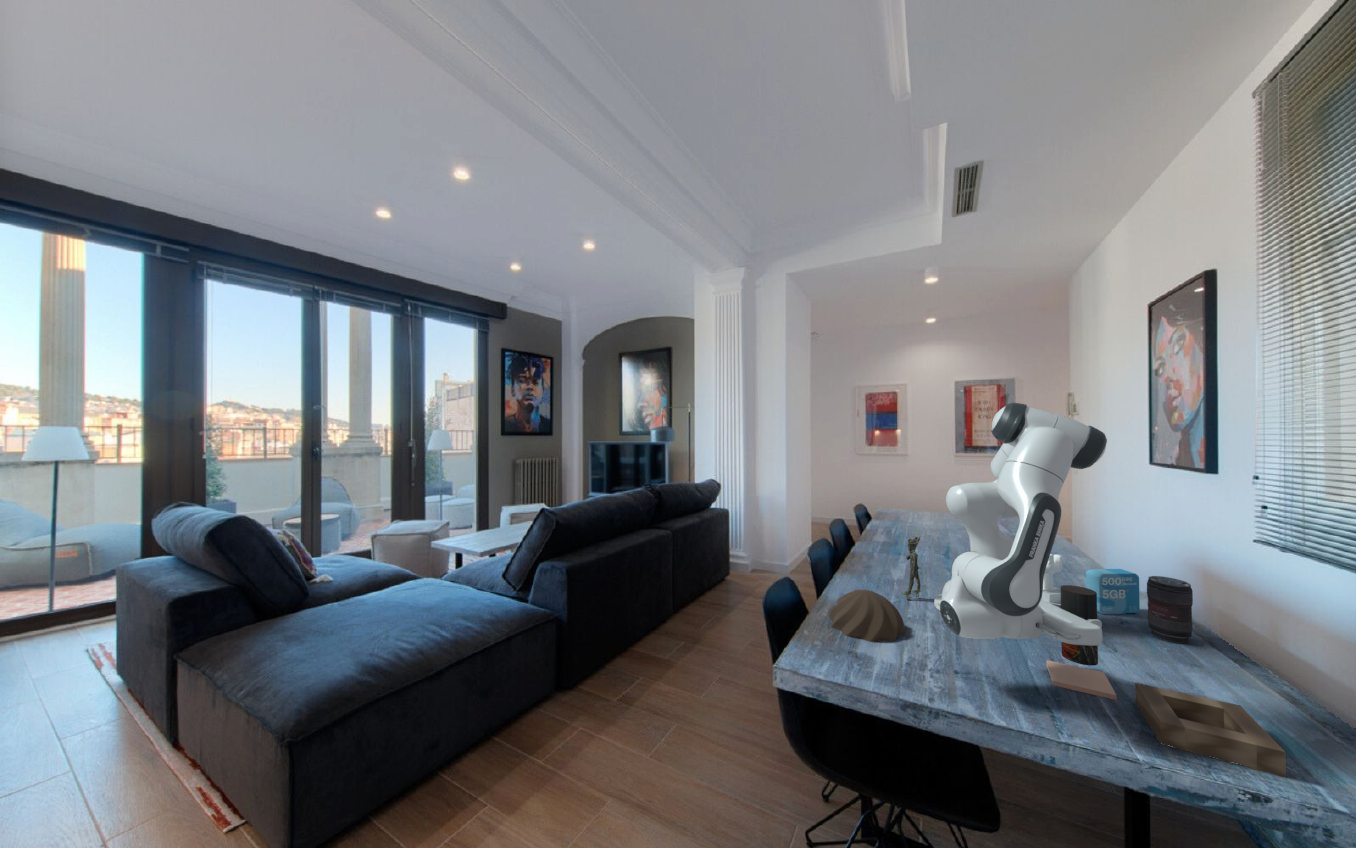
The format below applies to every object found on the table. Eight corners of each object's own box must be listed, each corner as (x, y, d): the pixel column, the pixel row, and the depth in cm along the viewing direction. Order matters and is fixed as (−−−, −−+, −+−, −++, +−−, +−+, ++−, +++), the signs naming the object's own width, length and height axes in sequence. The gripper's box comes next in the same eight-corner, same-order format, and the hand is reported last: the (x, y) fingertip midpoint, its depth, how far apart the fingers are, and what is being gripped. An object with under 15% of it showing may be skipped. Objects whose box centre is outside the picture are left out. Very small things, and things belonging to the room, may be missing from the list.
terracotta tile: (1053, 685, 97) (1053, 680, 97) (1046, 664, 105) (1046, 660, 105) (1116, 700, 91) (1116, 695, 91) (1103, 676, 100) (1103, 672, 100)
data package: (1099, 614, 132) (1099, 574, 132) (1085, 608, 136) (1085, 569, 136) (1140, 614, 132) (1139, 573, 132) (1124, 608, 136) (1124, 568, 137)
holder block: (1160, 744, 79) (1160, 721, 79) (1135, 702, 91) (1135, 682, 91) (1285, 777, 71) (1285, 752, 71) (1240, 727, 83) (1240, 705, 83)
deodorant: (1105, 666, 95) (1104, 595, 95) (1073, 664, 96) (1072, 594, 96) (1085, 653, 101) (1084, 586, 101) (1055, 650, 102) (1054, 584, 102)
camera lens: (1150, 639, 117) (1149, 581, 117) (1145, 628, 123) (1144, 573, 123) (1197, 648, 112) (1196, 588, 112) (1189, 636, 118) (1188, 579, 118)
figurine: (1024, 597, 145) (1024, 551, 145) (1049, 595, 147) (1048, 549, 147) (1046, 606, 138) (1046, 558, 138) (1072, 604, 140) (1071, 556, 140)
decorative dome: (839, 606, 140) (839, 574, 140) (910, 622, 129) (909, 587, 129) (819, 629, 125) (819, 594, 125) (897, 650, 113) (897, 610, 113)
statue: (897, 596, 148) (896, 535, 148) (916, 595, 148) (915, 535, 148) (905, 601, 143) (904, 539, 143) (924, 601, 143) (923, 538, 143)
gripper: (1060, 622, 88) (1130, 621, 88) (987, 586, 108) (1044, 585, 108) (1061, 655, 88) (1131, 654, 88) (988, 612, 108) (1045, 611, 108)
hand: (1082, 615), depth 98 cm, fingers closed on deodorant, 6 cm apart
